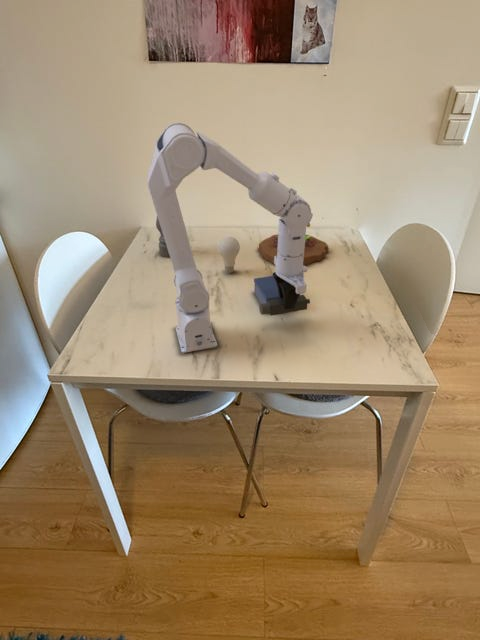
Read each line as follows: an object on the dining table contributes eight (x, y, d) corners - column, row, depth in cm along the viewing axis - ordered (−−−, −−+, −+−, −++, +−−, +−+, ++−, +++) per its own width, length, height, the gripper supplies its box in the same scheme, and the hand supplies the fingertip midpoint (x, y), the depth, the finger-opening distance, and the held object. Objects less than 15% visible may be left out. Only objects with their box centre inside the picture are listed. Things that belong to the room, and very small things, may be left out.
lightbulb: (244, 272, 119) (244, 236, 112) (229, 279, 115) (228, 243, 109) (229, 265, 122) (228, 230, 116) (214, 272, 118) (212, 237, 112)
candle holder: (183, 251, 130) (175, 170, 116) (170, 258, 126) (160, 176, 111) (168, 246, 133) (158, 167, 118) (155, 254, 129) (144, 173, 114)
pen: (306, 302, 99) (307, 293, 97) (310, 308, 96) (311, 299, 95) (259, 310, 96) (259, 301, 94) (262, 316, 94) (262, 307, 92)
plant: (247, 251, 129) (247, 217, 123) (289, 234, 140) (291, 202, 134) (295, 274, 117) (297, 237, 111) (336, 253, 128) (341, 219, 121)
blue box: (293, 309, 103) (294, 294, 100) (265, 314, 101) (266, 298, 98) (279, 289, 111) (280, 274, 108) (253, 293, 109) (253, 278, 106)
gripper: (322, 264, 83) (315, 318, 91) (295, 235, 94) (291, 286, 102) (289, 268, 81) (286, 324, 89) (266, 239, 93) (265, 290, 101)
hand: (287, 304), depth 96 cm, fingers closed on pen, 2 cm apart
